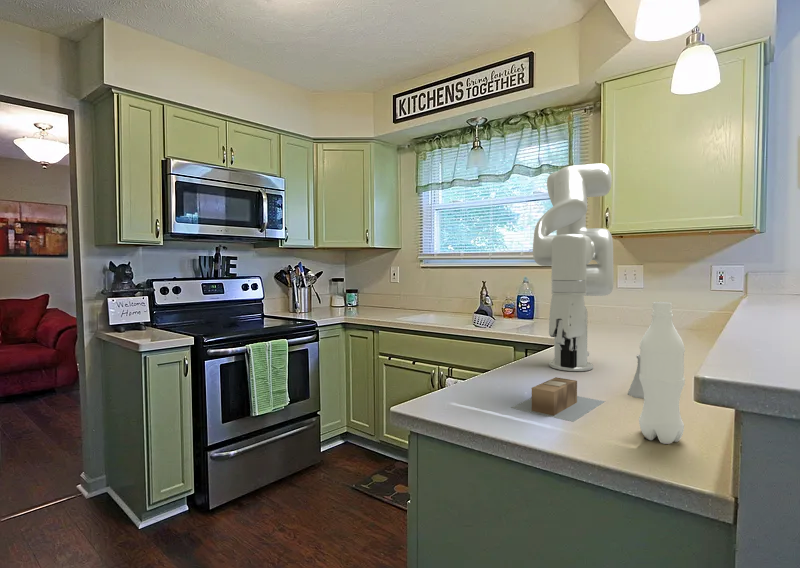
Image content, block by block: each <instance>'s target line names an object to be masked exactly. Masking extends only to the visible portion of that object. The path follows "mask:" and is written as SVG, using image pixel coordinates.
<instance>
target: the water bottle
mask: <svg viewBox="0 0 800 568" xmlns="http://www.w3.org/2000/svg"><path fill="white" fill-rule="evenodd" d="M672 303H673V302H669V301H654V302H652V310H651V312H652V313H650V316H652V317H651V322H650V324H649V326H648V328H647V329H646V331H645V333H644V334H643V336H642V337H641V339H640V343H639V351H640V353H639V355H640V374H639V379H640V381H641V384H642V387H643V392H644V399H643V405H642V410H641V413H640V416H639V419H638V424H639V428H640V431H641V434H642V435H643V436H644V438H646V439H647V440H649V441H653V440H654V439H655V438H656V437H657V439H658V440H659V442H660V444H665V445H667V444H668V445H670V444H672V443H673V442H675V443H677V442H680V440H681V439H682V437H683V434H684V431H685V424H684V422H683V418H682V417H681V411H680V400H681V394H682V391H683V389H684V386H685V385H686V384H685V381H686V379H685V375H684V374H685V352H686V349H685V344H684V342H683V339H682V337H681V335H680V334H679V332H678V329H676V327H675V325H674V321H673V317H674V314H673V308H672V307H673V306H672V305H673V304H672Z"/></svg>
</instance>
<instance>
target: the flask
mask: <svg viewBox="0 0 800 568" xmlns="http://www.w3.org/2000/svg"><path fill="white" fill-rule="evenodd" d="M635 357H636V359H637V365H636V370H635V374H634V376H633V379H632V382H631V384H630V387H629V389H628V391H627V395H629V396H630V397H633V398H635V399H643V400H644V392H643V387H642V384H641V381H640V379H639V374H640V354H636V356H635Z"/></svg>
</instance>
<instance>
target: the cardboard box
mask: <svg viewBox="0 0 800 568" xmlns="http://www.w3.org/2000/svg"><path fill="white" fill-rule="evenodd" d="M577 396H578V380H576V379H575V380H574V379H570V378H563V377H558V376H557V377H553V378H551V379H549V380H546V381H545V382H542V383H539V384H538V385H535V386H532V387H531V398H532V411H535V412H539V413H544V414H549V415H553V416H554V415H556V414H558V413H559V412H561V411H563V410H565V409H566V408H568V407H570V406H572V405H573V404H575V403H577Z"/></svg>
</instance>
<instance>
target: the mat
mask: <svg viewBox="0 0 800 568" xmlns="http://www.w3.org/2000/svg"><path fill="white" fill-rule="evenodd" d="M605 402H606V400H600V399H596V398H589V397H585V396H579V395H577V403H575V404H573V405H572V406H570V407H568V408H566V409H565V410H563V411H561V412H559V413H558V414H556V415H554V416H553V415H549V414H544V413H539V412H535V411H532V397H530V398H528V399H526V400H524V401H522V402H520V403H517V404H515V405H513V406H511V407H510V408H511V409H513V410H519V411H522V412H527V413H532V414H536V415H540V416H545V417H550V418H553V419H558V420H564V421H569V422H573V423H574V422H575V421H577V420H579V419H580V418H582V417H583V416H585V415H587V414H588V413H590V412H591V411H593V410H594V409H596V408H597V407H599V406H601V405H602V404H604V403H605Z"/></svg>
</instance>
